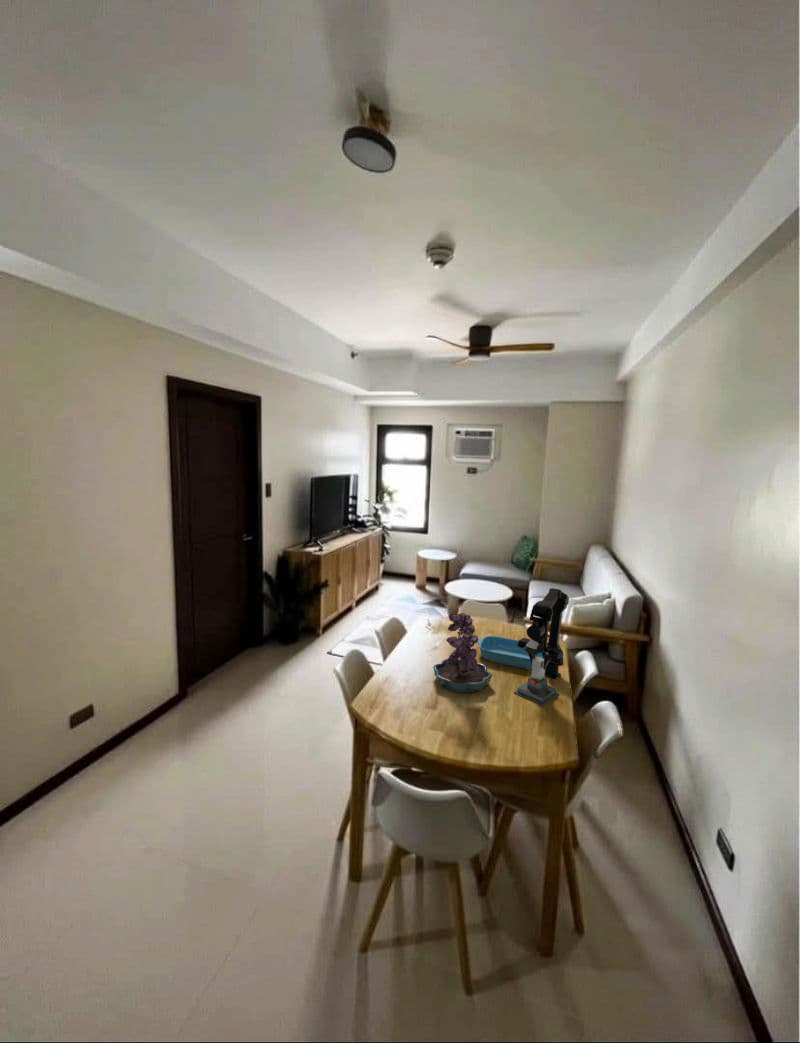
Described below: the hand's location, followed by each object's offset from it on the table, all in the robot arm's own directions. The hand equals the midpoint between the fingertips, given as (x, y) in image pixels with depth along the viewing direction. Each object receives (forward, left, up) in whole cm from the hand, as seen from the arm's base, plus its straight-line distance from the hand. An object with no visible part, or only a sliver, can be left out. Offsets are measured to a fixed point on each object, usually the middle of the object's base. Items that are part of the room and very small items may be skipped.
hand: (538, 667), depth 188 cm
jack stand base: (0, 0, -12) cm, 12 cm away
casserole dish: (-23, -26, -13) cm, 37 cm away
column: (0, 0, -8) cm, 8 cm away
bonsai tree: (+19, -27, -12) cm, 35 cm away
